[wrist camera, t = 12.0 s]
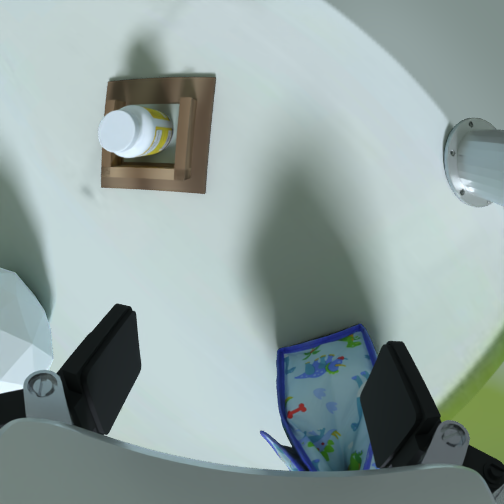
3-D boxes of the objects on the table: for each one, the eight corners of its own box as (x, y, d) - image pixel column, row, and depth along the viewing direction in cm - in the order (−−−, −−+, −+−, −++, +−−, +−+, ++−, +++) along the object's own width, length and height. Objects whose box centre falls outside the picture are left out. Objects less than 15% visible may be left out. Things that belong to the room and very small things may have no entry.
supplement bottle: (129, 118, 32) (87, 113, 23) (169, 105, 32) (136, 93, 22) (138, 160, 34) (98, 167, 25) (179, 147, 33) (148, 149, 24)
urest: (216, 78, 31) (210, 71, 28) (205, 193, 36) (199, 198, 32) (110, 82, 31) (96, 78, 28) (103, 186, 36) (89, 191, 33)
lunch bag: (256, 351, 43) (246, 517, 19) (365, 314, 41) (435, 469, 16) (300, 431, 50) (308, 552, 25) (384, 404, 47) (422, 522, 23)
